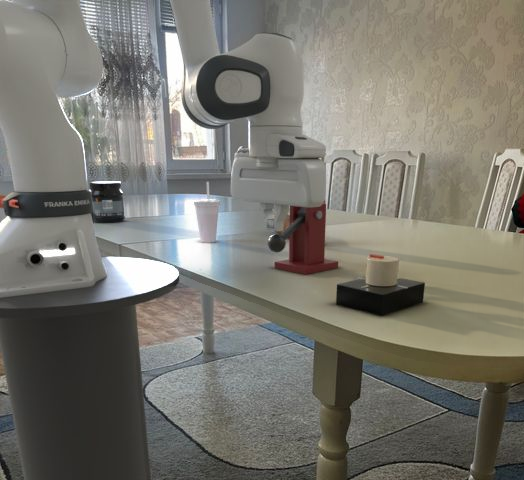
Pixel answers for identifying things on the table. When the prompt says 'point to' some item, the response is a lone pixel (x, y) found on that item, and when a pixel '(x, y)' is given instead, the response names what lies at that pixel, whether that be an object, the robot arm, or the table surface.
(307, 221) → the stand
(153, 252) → the table surface
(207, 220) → the smoothie
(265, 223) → the robot arm
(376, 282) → the dial
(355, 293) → the dial panel
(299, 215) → the toast lever
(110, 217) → the supplement container
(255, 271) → the table surface
